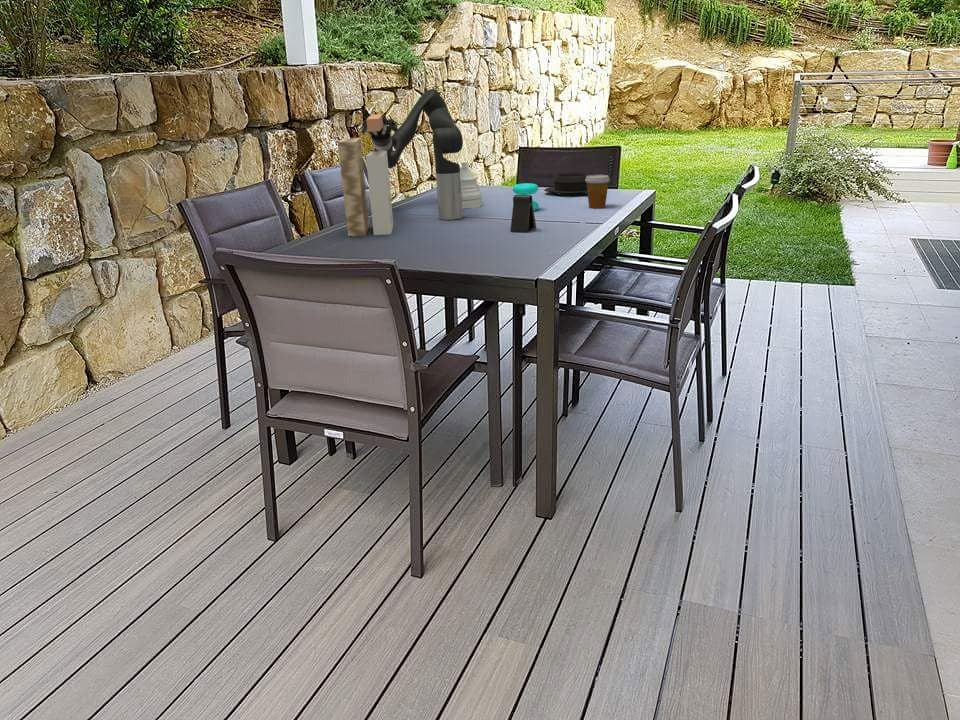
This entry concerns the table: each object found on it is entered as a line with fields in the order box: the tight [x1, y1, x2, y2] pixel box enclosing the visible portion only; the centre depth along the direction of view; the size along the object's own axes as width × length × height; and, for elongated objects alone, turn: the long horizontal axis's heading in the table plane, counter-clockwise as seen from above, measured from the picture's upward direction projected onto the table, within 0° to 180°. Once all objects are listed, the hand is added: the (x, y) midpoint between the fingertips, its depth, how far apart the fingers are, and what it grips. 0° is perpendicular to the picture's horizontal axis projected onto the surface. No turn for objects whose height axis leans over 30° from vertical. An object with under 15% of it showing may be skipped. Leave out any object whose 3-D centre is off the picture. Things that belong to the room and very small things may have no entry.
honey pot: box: [460, 161, 483, 210], centre depth 307 cm, size 13×13×18 cm
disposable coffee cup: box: [585, 174, 611, 210], centre depth 292 cm, size 10×10×12 cm
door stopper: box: [510, 194, 537, 234], centre depth 257 cm, size 9×6×12 cm, turn 153°
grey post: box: [365, 151, 394, 236], centre depth 265 cm, size 6×16×27 cm, turn 3°
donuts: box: [512, 182, 539, 212], centre depth 293 cm, size 10×10×10 cm
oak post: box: [337, 137, 370, 237], centre depth 264 cm, size 6×16×32 cm, turn 3°
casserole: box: [543, 171, 590, 197], centre depth 326 cm, size 25×19×8 cm
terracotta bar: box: [366, 113, 384, 133], centre depth 261 cm, size 4×24×4 cm, turn 3°
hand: (376, 117), depth 267 cm, fingers closed on terracotta bar, 4 cm apart
